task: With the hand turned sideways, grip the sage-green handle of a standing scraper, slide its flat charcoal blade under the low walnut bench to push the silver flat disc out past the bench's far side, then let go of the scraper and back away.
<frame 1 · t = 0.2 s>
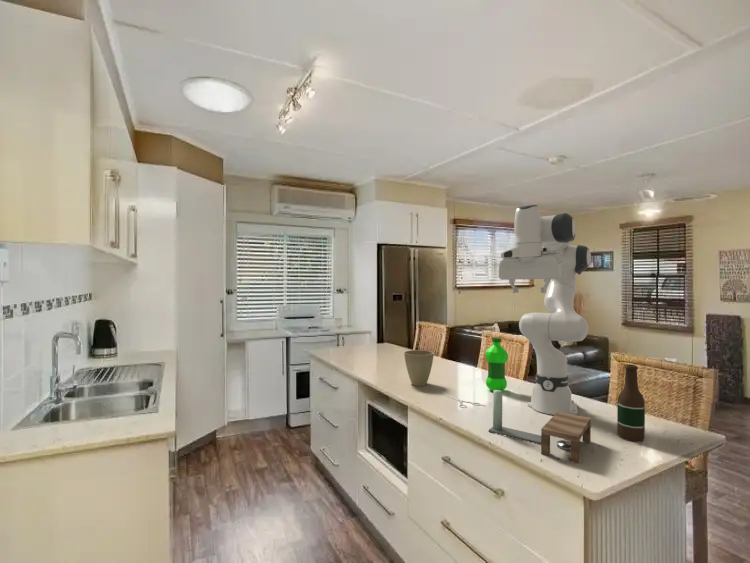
hand: (529, 292, 135), 48 cm above the worktop, tool pointing down, fingers open, 8 cm apart
scissors: (460, 402, 170), on the worktop
plant pot: (418, 384, 198), on the worktop
bench: (566, 447, 123), on the worktop
beer bottle: (630, 438, 131), on the worktop
scraper: (497, 431, 136), on the worktop
silver flat disc: (566, 448, 123), on the worktop
plastic bottle: (496, 391, 187), on the worktop
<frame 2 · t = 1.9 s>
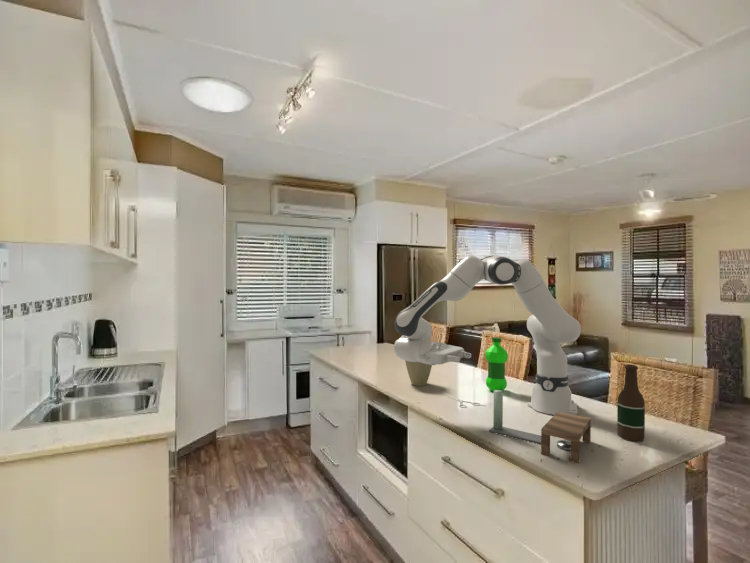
hand: (465, 357, 143), 24 cm above the worktop, tool horizontal, fingers open, 8 cm apart
nothing on the worktop moved.
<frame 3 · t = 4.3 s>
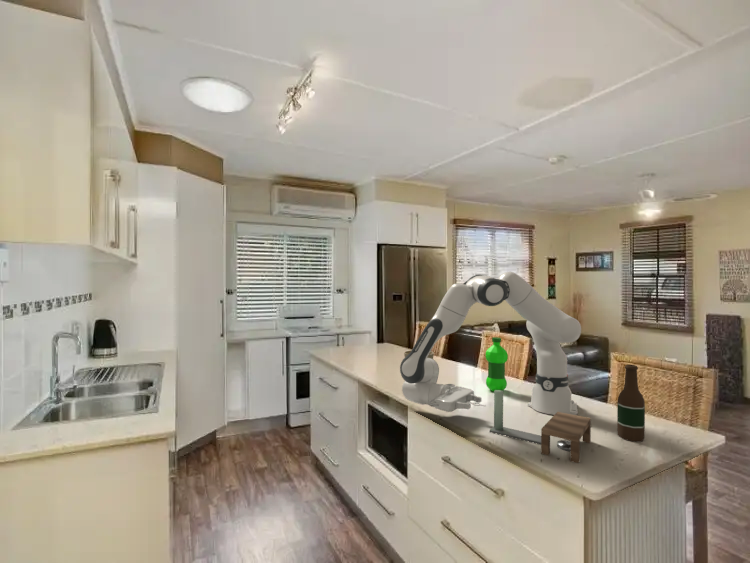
hand: (475, 403, 141), 8 cm above the worktop, tool horizontal, fingers open, 8 cm apart
nothing on the worktop moved.
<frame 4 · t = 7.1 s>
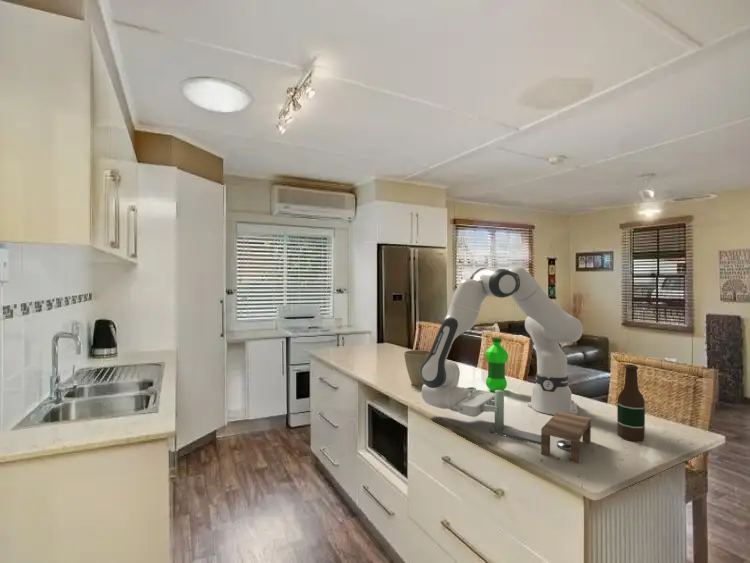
hand: (500, 407, 135), 8 cm above the worktop, tool horizontal, fingers closed on scraper, 3 cm apart
scraper: (499, 431, 136), on the worktop, touching gripper
everything else where it was.
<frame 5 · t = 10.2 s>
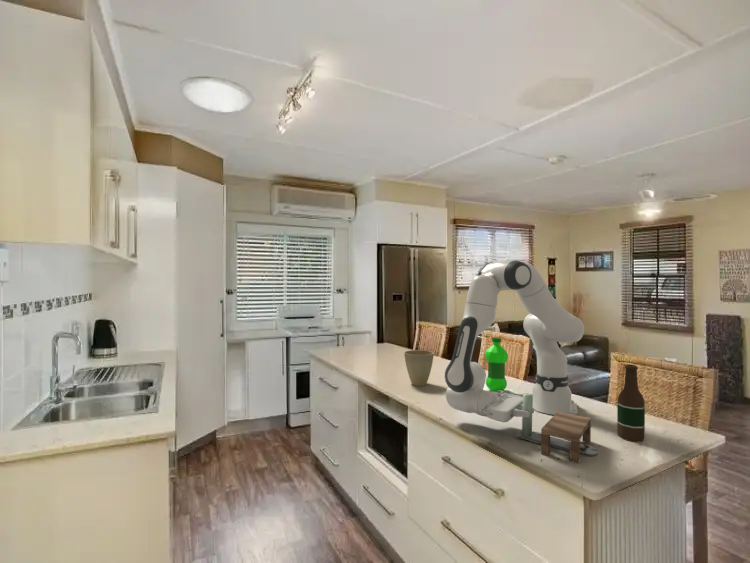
hand: (531, 412, 129), 9 cm above the worktop, tool horizontal, fingers closed on scraper, 3 cm apart
scraper: (526, 436, 130), on the worktop, touching gripper, silver flat disc
silver flat disc: (587, 452, 119), on the worktop, touching scraper
everything else where it was.
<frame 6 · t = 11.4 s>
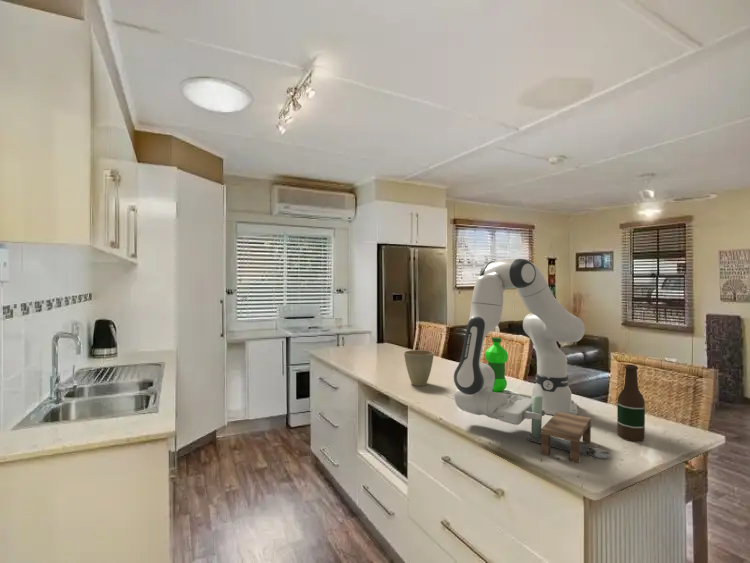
hand: (542, 414, 127), 9 cm above the worktop, tool horizontal, fingers closed on scraper, 3 cm apart
scraper: (536, 438, 128), on the worktop, touching gripper
silver flat disc: (598, 456, 117), on the worktop
everything else where it was.
when the fingers open (8 cm above the worktop, at t = 12.4 s): scraper stays where it is, on the worktop.
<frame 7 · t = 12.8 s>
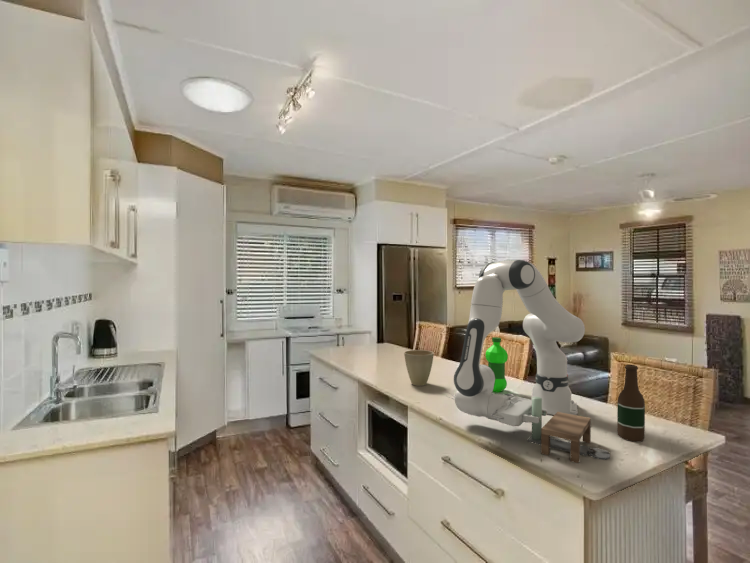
hand: (543, 416, 127), 8 cm above the worktop, tool horizontal, fingers open, 7 cm apart
scraper: (536, 440, 128), on the worktop
everything else where it was.
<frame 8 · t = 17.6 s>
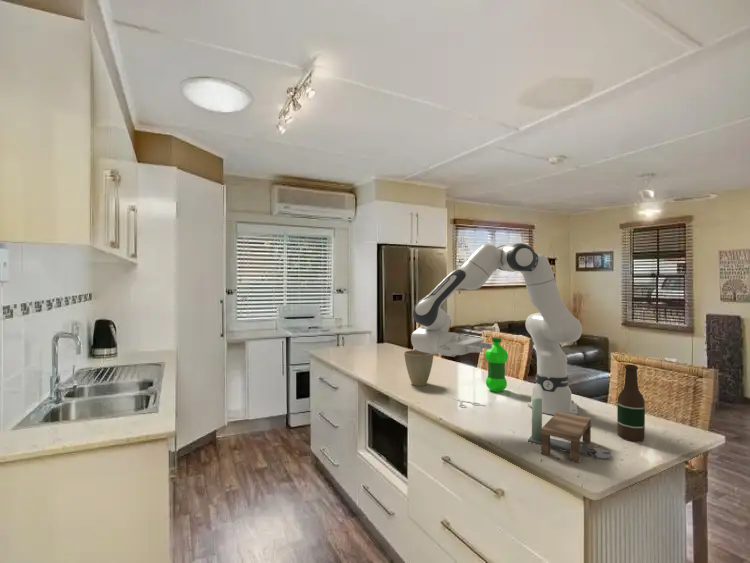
hand: (486, 348, 139), 28 cm above the worktop, tool horizontal, fingers open, 8 cm apart
nothing on the worktop moved.
at the end: silver flat disc inside the target area (5.4 cm from its centre), on the worktop; scraper tilted 0°; the gripper is holding nothing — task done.
